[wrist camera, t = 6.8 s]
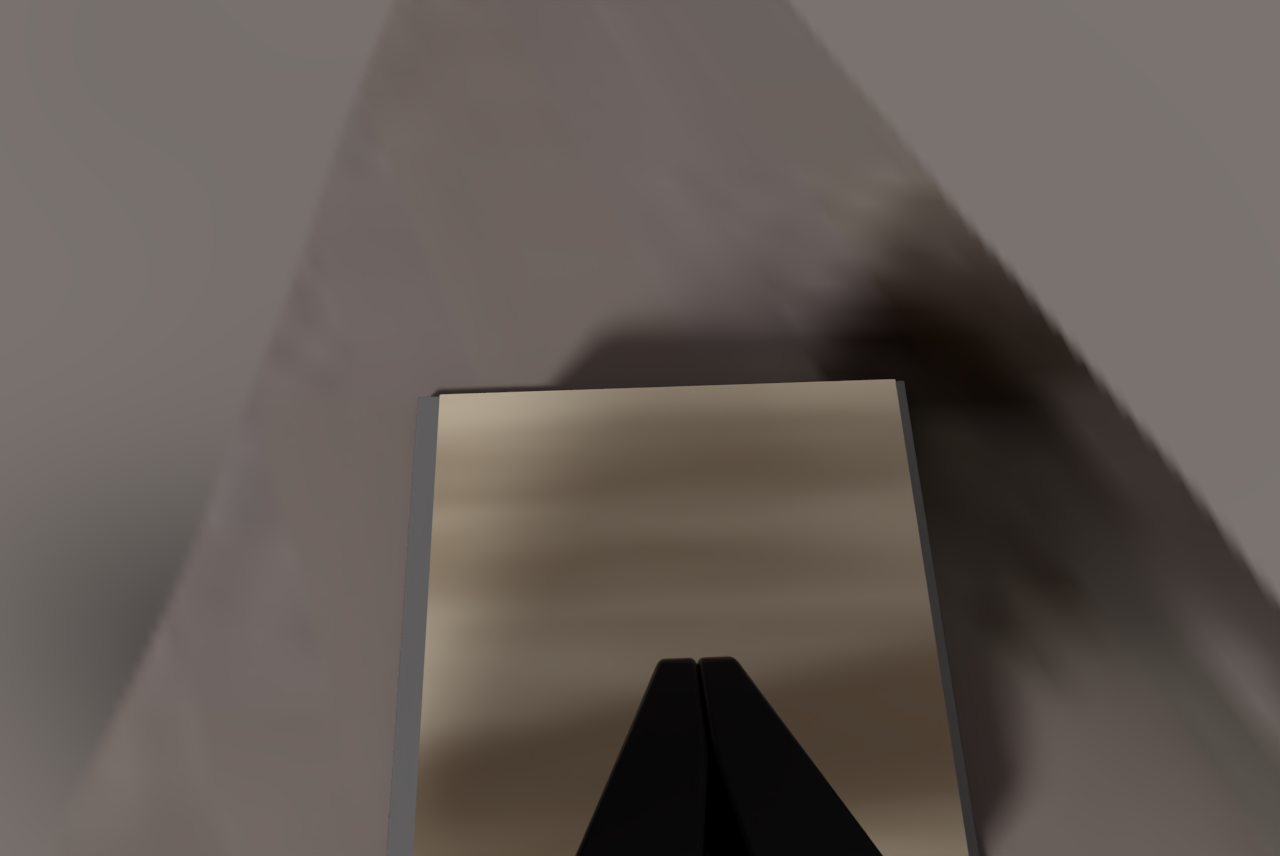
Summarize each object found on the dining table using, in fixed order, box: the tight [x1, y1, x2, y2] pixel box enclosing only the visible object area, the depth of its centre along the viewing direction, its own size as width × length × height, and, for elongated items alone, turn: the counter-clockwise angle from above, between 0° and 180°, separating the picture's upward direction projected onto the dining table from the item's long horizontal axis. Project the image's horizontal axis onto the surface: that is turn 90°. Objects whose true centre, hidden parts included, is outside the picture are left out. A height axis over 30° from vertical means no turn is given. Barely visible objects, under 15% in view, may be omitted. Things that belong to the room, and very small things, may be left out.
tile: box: [413, 379, 969, 856], centre depth 13 cm, size 3×8×10 cm
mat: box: [386, 381, 979, 856], centre depth 14 cm, size 16×11×1 cm
